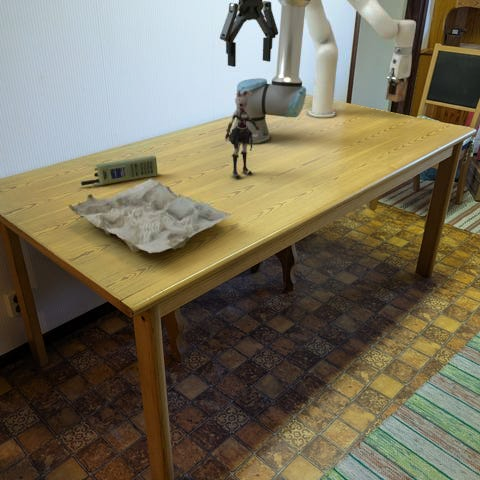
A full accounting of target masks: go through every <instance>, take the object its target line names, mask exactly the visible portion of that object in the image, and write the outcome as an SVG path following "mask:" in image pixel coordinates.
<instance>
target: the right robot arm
mask: <svg viewBox="0 0 480 480" xmlns="http://www.w3.org/2000/svg"><path fill="white" fill-rule="evenodd" d="M346 1H347V2H348V3H349V4H350V5H351V6H352V8H354V10H355V11H356V12H357V13H358V14H359V16H361V17H362V18H363V19H364V20H366V21H367V23H368V24H369V25H370V27H372V28H373V29H374V30H375V31H376V33H377V34H378V35H379V36H380V37H381V38H382V39H384V40H386V41H390V40H393V39H395V41H394V45H393V54H392V57H391V61H390V65H389V70H388V75H387V76H386V79H387V81H388V82H389V91H388V93H389V94H393V95H394V94H395V90H396V85H395V84H396V82H397V80H402V81H406V82H407V80H408V78H409V77H410V75H411V72H412V70H411V69H412V60H413V59H412V58H413V53H412V51H413V46H414V39H415V34H416V29H417V27H416V26H417V22H416V21H415V20H413V19H393V18H392V17H391V16H390V14H389V13H387V11H386V10H385V9H384V8H383V7H382V5H381V4H380V3H379V1H378V0H346ZM304 20H305V22H306V25H307V27H308V28H307V29H308V33H309V36H310V38H311V39H312V42H313V44H314V48H315V51H316V54H315V66H314V67H315V68H314V79H313V80H314V81H313V93H312V94H313V95H312V106H311V109H309V110H308V112H307V113H308V115H309V116H310V117H315V118H320V119H321V118H322V119H323V118H324V119H326V118H327V119H328V118H333V117H335V116H336V111H334V110H333V108H334V97H335V88H336V87H335V86H336V79H337V78H336V76H337V68H338V60H339V49H338V45H337V42H336V41H337V40H336V38H335V35H334V32H333V28H332V25H331V22H330V20H329V19H328V18H327V16H326V12H325V8H324V4H323V1H322V0H310V3H309V4H308V5H307V6H306V7H305V17H304ZM393 80H394V81H393ZM388 82H387V83H388Z"/></svg>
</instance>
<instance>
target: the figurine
mask: <svg viewBox="0 0 480 480" xmlns="http://www.w3.org/2000/svg"><path fill="white" fill-rule="evenodd" d="M243 88H244V86H243ZM243 88H241V89H239V90H237V89H236V93H237V95H236V96H235V99H234V102H235V106H236V108H237V107H239V108H238V110H237V109H236V110H234V112H233V115H232V117H231V120H230V122H229V123H228V125H227V128H226V129H225V131H226V134H225V135H224V140H225V142H226V143H228V142H230V143H231V145H232V146H233V153H232V154H231V157H232V164H233V170H232V177H233V178H234V179H240V178H241V175H240V174H239V173H238V171H237V168H238V167H237V166H238V165H237V163H238V158H239V152H240V148H241V149H242V150H241V152H240V155H242V157H241V158H242V161H243V165H242V166H243V167H242V173H244V174H246V175H252V172H251V170H249V168H248V167H247V154H248V150H247V149H248V145H250V148H249V151H250V152H251V151H252V149H253V145H255V144H254V143H253V144H252V142H253V140H252V138H253V136H252V134H253V133H252V132H251V131H250V130H249V129H248V126H247V125H246V121H247V120H249V122H250V123H252V124H253V125H254V126H255V128H256V131H257V132H258V133H260V129H259V128H258V126H257V125H256V122H255V121H253V120H252V118H250V116H249V114H248V112H247V110H246V109H245V108H246V107H247V101H248V99H247V97H246V94H247V92H248V93H249V94H250V95H252V93H251V91H250V90H248V89H246V90H244V91H243V93H242V95H240V91H241V90H242V89H243ZM236 118H237V121H238V122H239V123H238V125H237V126H236V127H235V128H234V127H233V123H234V122H235V121H236ZM232 127H233V128H234V129H233V128H232ZM249 139H250V144H249ZM241 142H242V143H241Z"/></svg>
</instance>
